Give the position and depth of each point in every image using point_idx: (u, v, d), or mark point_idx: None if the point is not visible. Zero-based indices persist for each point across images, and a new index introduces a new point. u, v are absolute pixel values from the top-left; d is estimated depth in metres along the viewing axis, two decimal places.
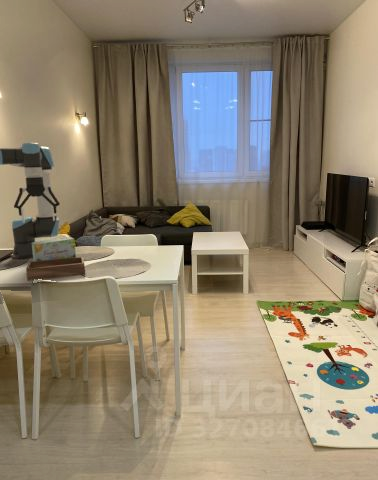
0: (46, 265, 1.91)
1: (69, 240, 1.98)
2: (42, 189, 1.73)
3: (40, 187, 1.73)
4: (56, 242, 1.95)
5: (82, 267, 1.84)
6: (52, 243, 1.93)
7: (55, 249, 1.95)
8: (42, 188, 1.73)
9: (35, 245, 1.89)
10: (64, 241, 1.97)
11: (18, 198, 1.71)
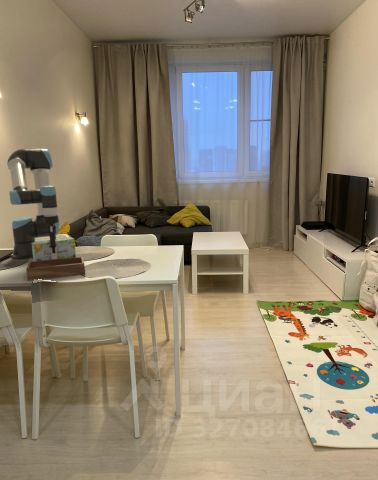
0: (46, 265, 1.91)
1: (69, 240, 1.98)
2: (49, 227, 1.91)
3: (49, 225, 1.91)
4: (56, 242, 1.95)
5: (82, 267, 1.84)
6: None
7: None
8: (49, 226, 1.91)
9: (35, 245, 1.89)
10: (64, 241, 1.97)
11: None
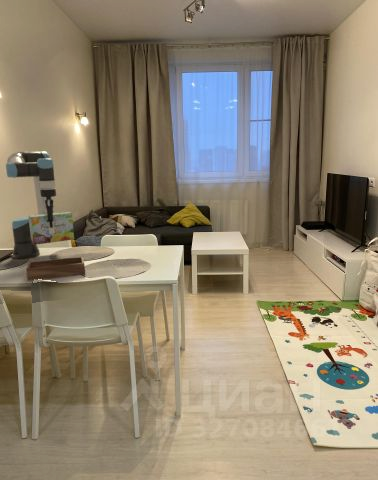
0: (46, 265, 1.91)
1: (66, 214, 1.96)
2: (46, 201, 1.88)
3: (46, 198, 1.89)
4: (53, 216, 1.92)
5: (82, 267, 1.84)
6: None
7: None
8: (46, 200, 1.88)
9: (32, 218, 1.86)
10: (61, 215, 1.94)
11: None
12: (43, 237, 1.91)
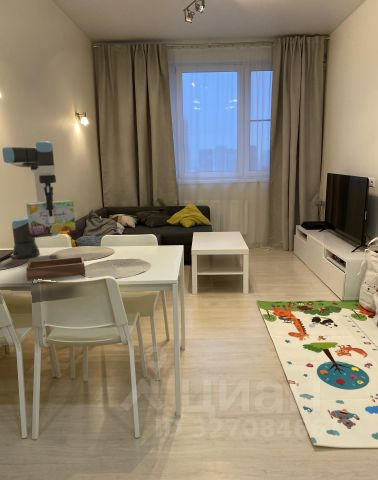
0: (46, 265, 1.91)
1: (67, 202, 1.82)
2: (45, 187, 1.75)
3: (45, 185, 1.75)
4: (53, 203, 1.78)
5: (82, 267, 1.84)
6: None
7: None
8: (45, 186, 1.75)
9: (30, 205, 1.72)
10: (62, 203, 1.81)
11: None
12: (42, 227, 1.77)
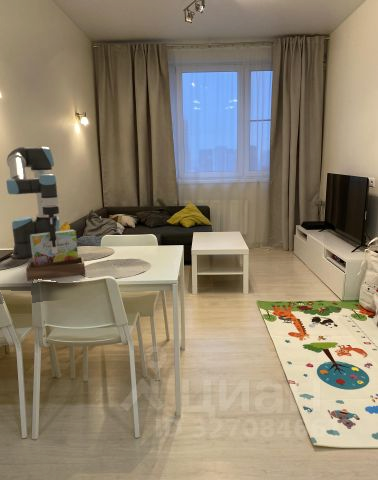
0: (46, 265, 1.91)
1: (70, 232, 1.85)
2: (49, 219, 1.78)
3: (48, 216, 1.78)
4: (56, 234, 1.81)
5: (82, 267, 1.84)
6: None
7: None
8: (48, 218, 1.78)
9: (33, 237, 1.76)
10: (65, 233, 1.84)
11: None
12: (45, 257, 1.80)
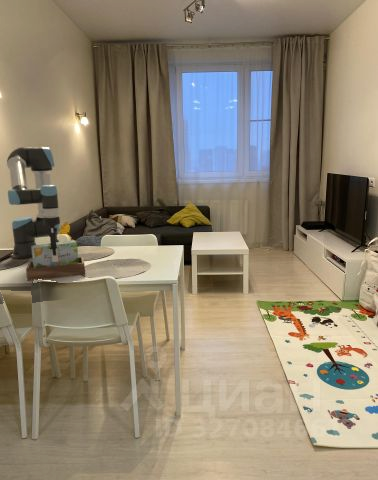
0: None
1: (71, 243, 1.86)
2: None
3: (49, 227, 1.80)
4: (57, 245, 1.83)
5: (82, 267, 1.84)
6: None
7: None
8: (50, 228, 1.79)
9: (35, 249, 1.77)
10: (66, 244, 1.85)
11: None
12: None
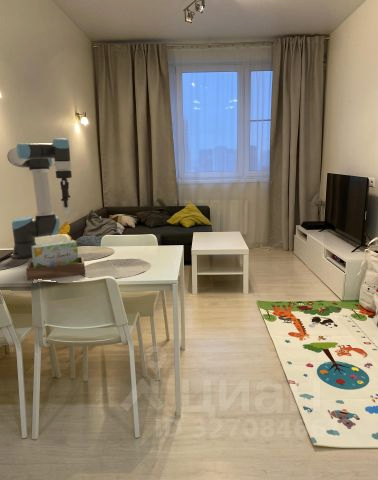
0: None
1: (71, 243, 1.86)
2: None
3: None
4: (57, 245, 1.83)
5: (82, 267, 1.84)
6: (53, 247, 1.81)
7: (56, 252, 1.83)
8: None
9: (35, 249, 1.77)
10: (66, 244, 1.85)
11: None
12: None
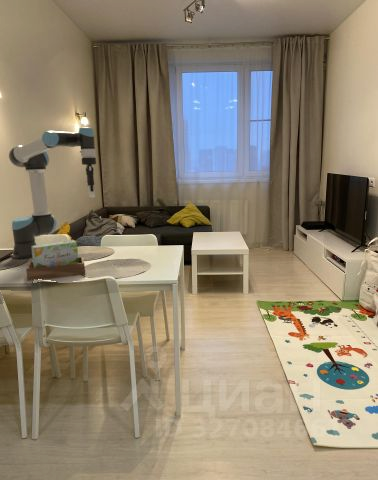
0: None
1: (71, 243, 1.86)
2: (87, 168, 1.96)
3: (87, 166, 1.97)
4: (57, 245, 1.83)
5: (82, 267, 1.84)
6: (53, 247, 1.81)
7: (56, 252, 1.83)
8: (87, 167, 1.96)
9: (35, 249, 1.77)
10: (66, 244, 1.85)
11: None
12: None
